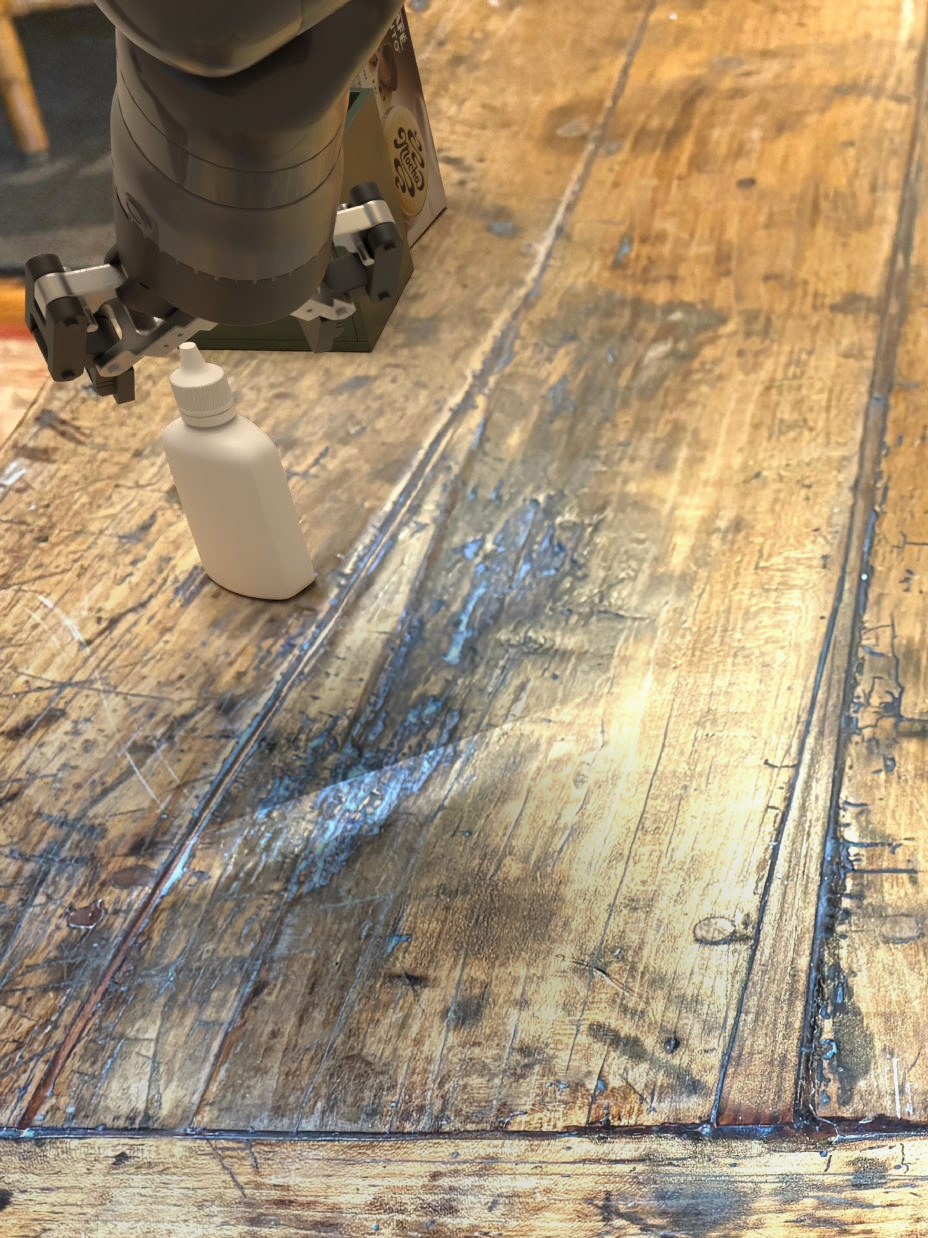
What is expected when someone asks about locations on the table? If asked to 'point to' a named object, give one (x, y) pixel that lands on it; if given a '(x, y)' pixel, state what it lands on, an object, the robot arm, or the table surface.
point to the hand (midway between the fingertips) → (215, 356)
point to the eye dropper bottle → (232, 488)
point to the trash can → (336, 247)
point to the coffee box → (405, 127)
